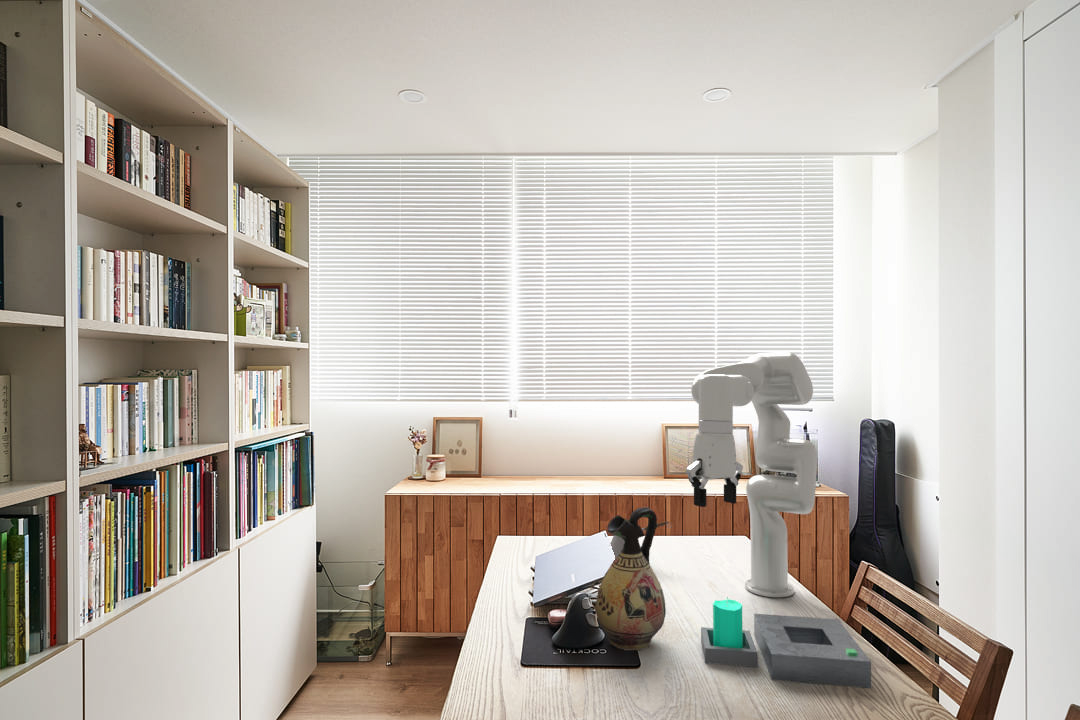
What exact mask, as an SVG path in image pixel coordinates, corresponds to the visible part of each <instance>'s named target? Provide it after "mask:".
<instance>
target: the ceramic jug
mask: <svg viewBox="0 0 1080 720" xmlns="http://www.w3.org/2000/svg"><path fill="white" fill-rule="evenodd" d="M641 518H647V519H648V523H647V526H646V527H647V530H645V532H644V531H642V528H641V526H640V525H639V519H641ZM625 519H626V518H624V517H622V516H621V515H618V514H617V515H616V516H614V517H613V518H612V519H611V520H610V521H609V522H608V525H607V526H606V529H607V530H606V532H607V533H609V534H610V535H613V536H614V535H615V536H618V537H620V538H622V539H623V540H624V541H625V543H624V545H623V549H622V550H621V552H620V554H619V555H618V556H617V557H616V559H615V560H614V561H612V563H611V564H610V566H609V567H608V569H607V570H606V572H605V573H604V576H603V577H602V580H601V582H600V584H599V587H598V591H597V596H596V599H595V600H596V601H595V612H596V613H595V614H596V617H597V621H598V623H599V625H600V626H601V628H602V630H603V631H604V633H605V634H606V635H607V638H608V642H610V643H611V645H614V646H613V647H615V646H616V647H619V648H622V649H631V650H634V649H635V650H636V651H642V650H645V649H647V648H649V647H650V644H651V642H652V639H653V638H654V637H655V635H656V634H657V633H658V632H660V631H661V629H662V627H663V626H664V622H665V619H666V613H667V612H666V611H667V609H666V599H665V595H664V591H663V589H662V585H661V581H660V580H659V579H658V577H657V575H656V572H655V571H654V569H653V567H652V566H651V565H650V551H651V547H652V545H653V544H652V543H653V540H654V537H655V534H656V529H657V528H658V527H657V524H658V518H657V515H656V512H655V511H654V510H652V509H651V508H649V507H639V508H636V509H634V510H633V511H632V512H631V514H630V516H629V521H627V520H625ZM656 527H657V528H656ZM643 537H644V538H643ZM640 538H643V540H642V544H640V542H639V541H640V540H639V539H640ZM639 544H640V545H639ZM640 546H641V548H640ZM610 643H609V644H610ZM611 645H610V646H611ZM616 647H615V648H616Z"/></svg>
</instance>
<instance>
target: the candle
mask: <svg viewBox="0 0 1080 720" xmlns="http://www.w3.org/2000/svg"><path fill="white" fill-rule="evenodd" d="M712 619H713V621H712V625H713V626H712V628H713V644H712V646H717V647H730V648H743V649H744V646H743V630H744V629H743V604H742V603H741V602H739V601H737V600H735V599H729V598H728V596H727V597H726V599H723V600H716V599H715V600H714V601H713V603H712Z"/></svg>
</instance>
